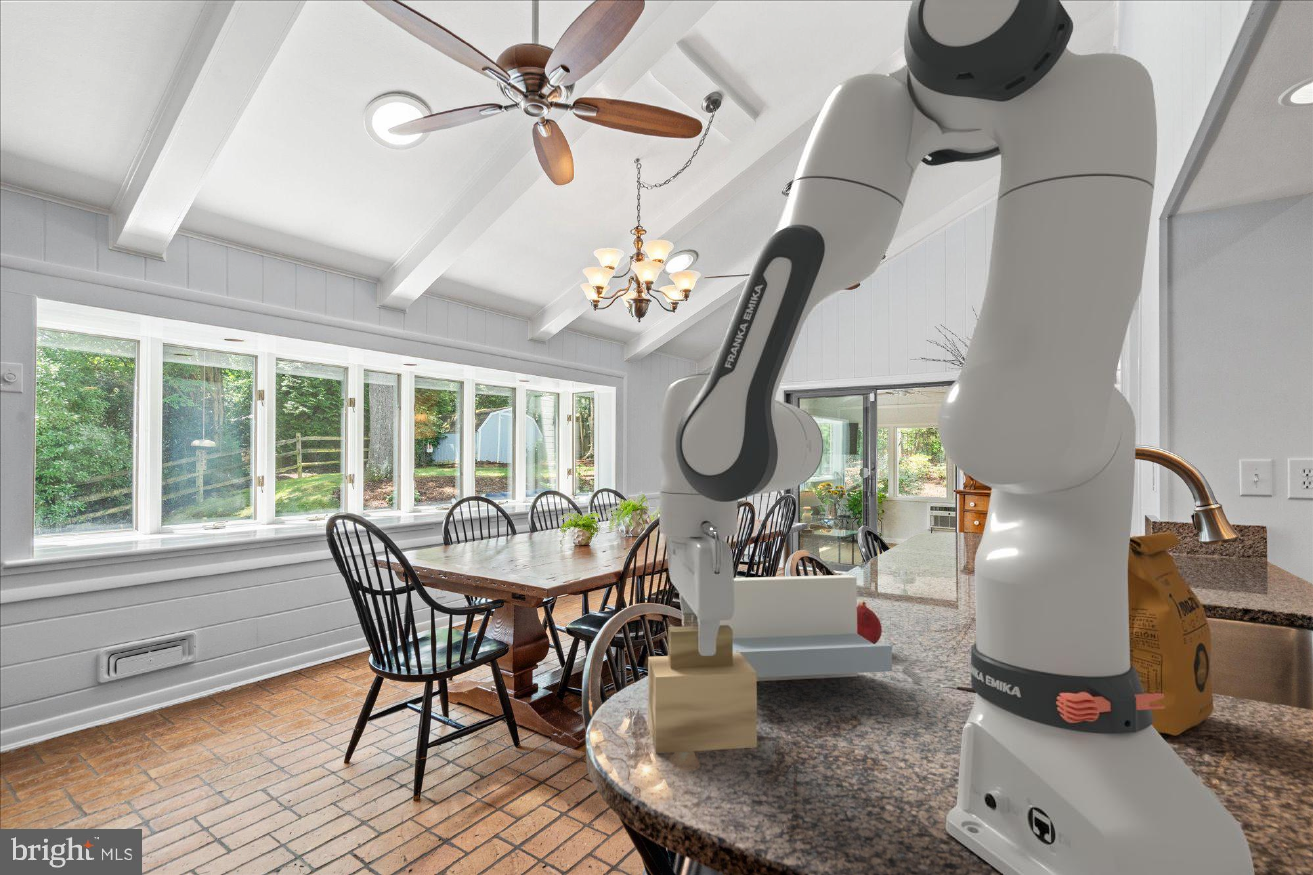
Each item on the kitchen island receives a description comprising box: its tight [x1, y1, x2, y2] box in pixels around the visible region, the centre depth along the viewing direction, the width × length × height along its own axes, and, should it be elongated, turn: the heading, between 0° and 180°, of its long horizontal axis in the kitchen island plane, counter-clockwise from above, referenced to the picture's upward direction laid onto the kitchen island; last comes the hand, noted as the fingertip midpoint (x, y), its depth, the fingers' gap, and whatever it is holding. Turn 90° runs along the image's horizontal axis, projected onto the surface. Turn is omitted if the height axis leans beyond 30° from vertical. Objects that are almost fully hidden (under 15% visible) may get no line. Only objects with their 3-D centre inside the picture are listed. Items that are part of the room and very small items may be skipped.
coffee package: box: [1128, 531, 1214, 736], centre depth 74 cm, size 10×12×22 cm
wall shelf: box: [720, 574, 893, 682], centre depth 84 cm, size 12×20×14 cm, turn 97°
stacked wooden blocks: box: [647, 625, 758, 754], centre depth 70 cm, size 7×11×12 cm, turn 97°
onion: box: [857, 600, 883, 644], centre depth 101 cm, size 6×6×8 cm
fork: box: [901, 665, 976, 694], centre depth 84 cm, size 3×16×2 cm, turn 59°
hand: (697, 640), depth 71 cm, fingers open, 8 cm apart
